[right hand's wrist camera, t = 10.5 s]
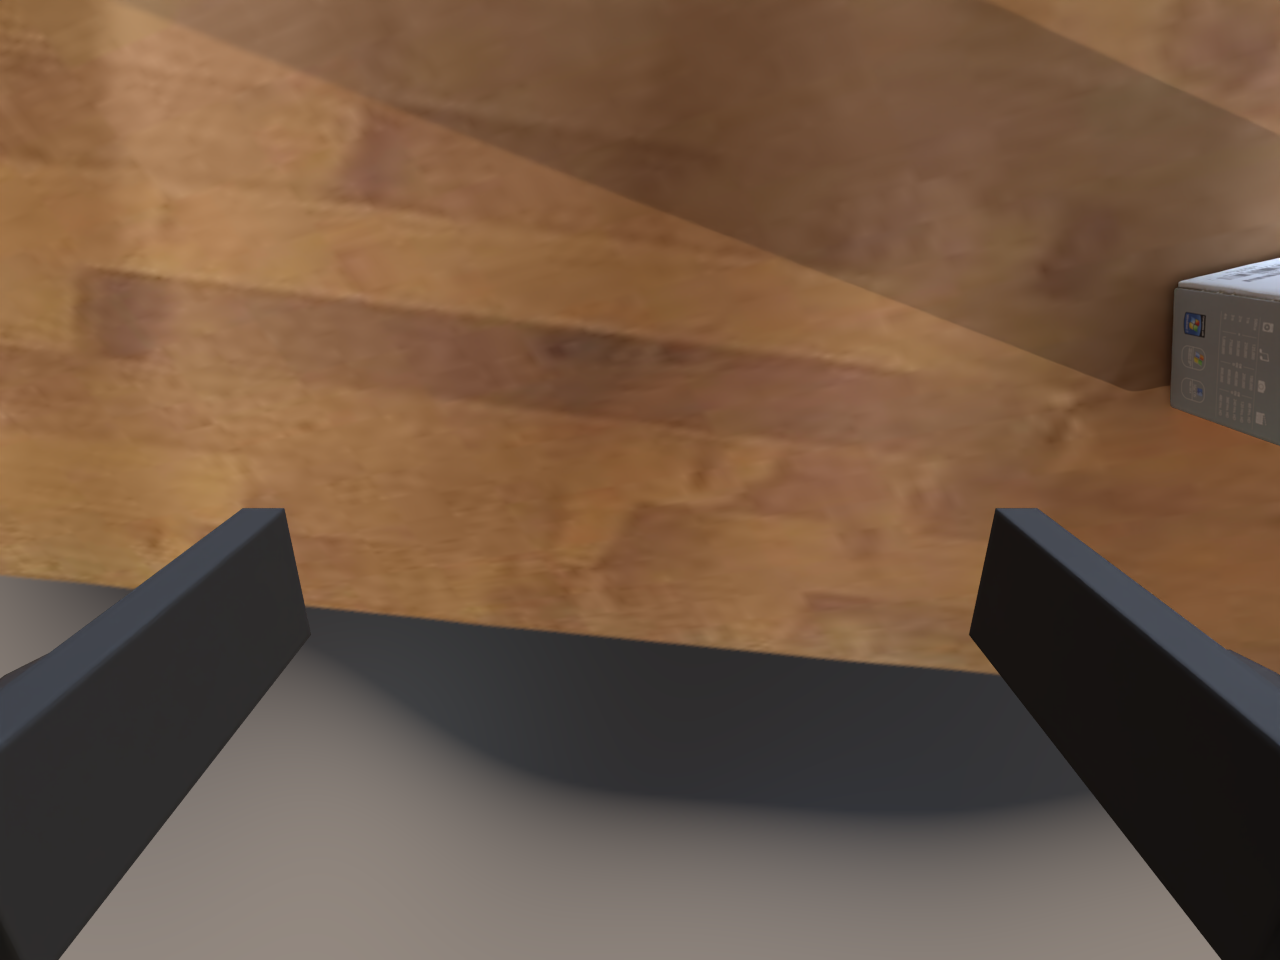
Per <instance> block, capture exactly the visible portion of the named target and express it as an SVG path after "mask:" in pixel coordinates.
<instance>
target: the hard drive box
mask: <svg viewBox="0 0 1280 960" xmlns="http://www.w3.org/2000/svg"><path fill="white" fill-rule="evenodd" d="M1170 403H1171V406H1172V407H1173V408H1176V409H1179V410H1182V411H1184V412H1187V413H1189V414H1192V415H1195V416H1198V417H1201V418H1203V419H1206V420H1209V421H1212V422H1215V423H1217V424H1220V425H1223V426H1226V427H1229V428H1231V429H1234V430H1237V431H1240V432H1242V433H1245V434H1248V435H1251V436H1254V437H1256V438H1259V439H1262V440H1265V441H1268V442H1271V443H1273V444H1276V445H1279V446H1280V258H1277V259H1272V260H1268V261H1263V262H1258V263H1253V264H1249V265H1245V266H1241V267H1237V268H1233V269H1229V270H1225V271H1221V272H1217V273H1213V274H1208V275H1204V276H1199V277H1195V278H1191V279H1187V280H1183V281H1180V282H1179V283H1178V288H1176V289H1175V290H1174V307H1173V341H1172V370H1171V395H1170Z"/></svg>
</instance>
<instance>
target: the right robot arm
mask: <svg viewBox="0 0 1280 960" xmlns="http://www.w3.org/2000/svg"><path fill="white" fill-rule="evenodd" d="M310 635H311V633H310V628H309V624H308V619H307V614H306V609H305V604H304V600H303V595H302V590H301V585H300V581H299V576H298V571H297V566H296V562H295V557H294V552H293V547H292V543H291V538H290V533H289V528H288V524H287V519H286V514H285V509H284V508H243V509H241V510H240V511H239V512H237V513H236V514H235V515H233V516H232V517H231V518H229V519H228V520H227V521H225V522H224V523H223V524H221V525H220V526H219V527H217V528H216V529H214V530H213V531H212V532H210V533H209V534H208V535H206V536H205V537H204V538H202V539H201V540H200V541H198V542H197V543H196V544H194V545H193V546H192V547H190V548H189V549H188V550H186V551H185V552H184V553H182V554H181V555H180V556H178V557H177V558H176V559H174V560H173V561H172V562H170V563H169V564H168V565H166V566H165V567H164V568H162V569H161V570H160V571H158V572H157V573H156V574H154V575H153V576H152V577H150V578H149V579H148V580H146V581H145V582H144V583H142V584H141V585H140V586H138V587H137V588H136V589H134V590H133V591H132V592H130V593H129V594H128V595H126V596H125V597H124V598H122V599H121V600H120V601H118V602H117V603H116V604H114V605H113V606H112V607H110V608H109V609H108V610H106V611H105V612H104V613H102V614H101V615H99V616H98V617H97V618H96V619H94V620H93V621H92V622H90V623H89V624H87V625H86V626H85V627H83V628H82V629H81V630H79V631H78V632H77V633H75V634H74V635H73V636H71V637H70V638H69V639H67V640H66V641H65V642H63V643H62V644H61V645H59V646H58V647H57V648H55V649H54V650H53V651H51V652H50V653H48V654H46V655H44V656H42V657H40V658H38V659H36V660H34V661H32V662H30V663H28V664H26V665H24V666H22V667H20V668H18V669H16V670H14V671H12V672H10V673H8V674H6V675H5V676H3V677H2V678H0V960H59V958H60V957H61V956H62V954H63V953H64V952H65V951H66V949H67V948H68V947H69V945H70V944H71V943H72V942H73V940H74V939H75V938H76V936H77V935H78V934H79V933H80V931H81V930H82V929H83V927H84V926H85V925H86V924H87V922H88V921H89V920H90V918H91V917H92V916H93V915H94V913H95V912H96V911H97V909H98V908H99V907H100V906H101V904H102V903H103V902H104V900H105V899H106V898H107V897H108V895H109V894H110V893H111V891H112V890H113V889H114V887H115V886H116V885H117V884H118V882H119V881H120V880H121V879H122V877H123V876H124V875H125V873H126V872H127V871H128V870H129V868H130V867H131V866H132V864H133V863H134V862H135V860H136V859H137V858H138V857H139V855H140V854H141V853H142V851H143V850H144V849H145V848H146V846H147V845H148V844H149V842H150V841H151V840H152V839H153V837H154V836H155V835H156V833H157V832H158V831H159V830H160V828H161V827H162V826H163V824H164V823H165V822H166V821H167V819H168V818H169V817H170V815H171V814H172V813H173V812H174V810H175V809H176V808H177V806H178V805H179V804H180V803H181V801H182V800H183V799H184V797H185V796H186V795H187V794H188V792H189V791H190V790H191V788H192V787H193V786H194V785H195V783H196V782H197V781H198V779H199V778H200V777H201V776H202V774H203V773H204V772H205V770H206V769H207V768H208V767H209V765H210V764H211V763H212V761H213V760H214V759H215V758H216V756H217V755H218V754H219V752H220V751H221V750H222V749H223V747H224V746H225V745H226V743H227V742H228V741H229V740H230V738H231V737H232V736H233V734H234V733H235V732H236V730H237V729H238V728H239V727H240V725H241V724H242V723H243V722H244V720H245V719H246V718H247V716H248V715H249V714H250V713H251V711H252V710H253V709H254V707H255V706H256V705H257V703H258V702H259V701H260V700H261V698H262V697H263V696H264V695H265V693H266V692H267V691H268V689H269V688H270V687H271V686H272V684H273V683H274V682H275V680H276V679H277V678H278V677H279V675H280V674H281V673H282V671H283V670H284V669H285V668H286V666H287V665H288V664H289V662H290V661H291V660H292V659H293V657H294V656H295V655H296V653H297V652H298V651H299V649H300V648H301V647H302V646H303V644H304V643H305V642H306V640H307V639H308V638H309V637H310ZM969 635H970V637H971V638H972V639H973V640H974V642H975V643H976V644H977V646H978V647H979V648H980V649H981V651H982V652H983V653H984V655H985V656H986V657H987V659H988V660H989V661H990V662H991V664H992V665H993V666H994V668H995V669H996V670H997V671H998V673H999V674H1000V675H1001V677H1002V678H1003V679H1004V680H1005V682H1006V683H1007V684H1008V686H1009V687H1010V688H1011V689H1012V691H1013V692H1014V693H1015V695H1016V696H1017V697H1018V698H1019V700H1020V701H1021V702H1022V704H1023V705H1024V706H1025V707H1026V709H1027V710H1028V711H1029V713H1030V714H1031V715H1032V716H1033V718H1034V719H1035V720H1036V722H1037V723H1038V724H1039V725H1040V727H1041V728H1042V729H1043V731H1044V732H1045V733H1046V734H1047V736H1048V737H1049V738H1050V740H1051V741H1052V742H1053V743H1054V745H1055V746H1056V747H1057V749H1058V750H1059V751H1060V752H1061V754H1062V755H1063V756H1064V758H1065V759H1066V760H1067V761H1068V763H1069V764H1070V765H1071V767H1072V768H1073V769H1074V770H1075V772H1076V773H1077V774H1078V776H1079V777H1080V778H1081V779H1082V781H1083V782H1084V783H1085V785H1086V786H1087V787H1088V788H1089V790H1090V791H1091V792H1092V794H1093V795H1094V796H1095V797H1096V799H1097V800H1098V801H1099V803H1100V804H1101V805H1102V806H1103V808H1104V809H1105V810H1106V812H1107V813H1108V814H1109V815H1110V817H1111V818H1112V819H1113V821H1114V822H1115V823H1116V825H1117V826H1118V827H1119V828H1120V830H1121V831H1122V832H1123V834H1124V835H1125V836H1126V837H1127V839H1128V840H1129V841H1130V843H1131V844H1132V845H1133V846H1134V848H1135V849H1136V850H1137V851H1138V853H1139V854H1140V855H1141V857H1142V858H1143V859H1144V861H1145V862H1146V863H1147V864H1148V866H1149V867H1150V868H1151V870H1152V871H1153V872H1154V873H1155V875H1156V876H1157V877H1158V879H1159V880H1160V881H1161V882H1162V884H1163V885H1164V886H1165V888H1166V889H1167V890H1168V891H1169V893H1170V894H1171V895H1172V897H1173V898H1174V899H1175V900H1176V902H1177V903H1178V904H1179V906H1180V907H1181V908H1182V909H1183V911H1184V912H1185V913H1186V915H1187V916H1188V917H1189V918H1190V920H1191V921H1192V922H1193V924H1194V925H1195V926H1196V927H1197V929H1198V930H1199V931H1200V933H1201V934H1202V935H1203V936H1204V938H1205V939H1206V940H1207V942H1208V943H1209V944H1210V945H1211V947H1212V948H1213V949H1214V950H1215V952H1216V953H1217V954H1218V956H1219V957H1220V958H1221V960H1280V675H1279V674H1277V673H1276V672H1274V671H1272V670H1270V669H1268V668H1266V667H1264V666H1262V665H1260V664H1258V663H1256V662H1254V661H1252V660H1250V659H1248V658H1246V657H1244V656H1242V655H1240V654H1238V653H1236V652H1234V651H1232V650H1226V649H1225V648H1223V647H1222V646H1221V645H1219V644H1218V643H1217V642H1215V641H1214V640H1213V639H1211V638H1210V637H1209V636H1207V635H1206V634H1205V633H1203V632H1202V631H1201V630H1199V629H1198V628H1197V627H1195V626H1194V625H1193V624H1191V623H1190V622H1189V621H1187V620H1186V619H1185V618H1183V617H1182V616H1181V615H1179V614H1178V613H1177V612H1175V611H1174V610H1172V609H1171V608H1170V607H1168V606H1167V605H1166V604H1164V603H1163V602H1162V601H1160V600H1159V599H1158V598H1156V597H1155V596H1154V595H1152V594H1151V593H1150V592H1148V591H1147V590H1146V589H1144V588H1143V587H1142V586H1140V585H1139V584H1138V583H1136V582H1135V581H1134V580H1132V579H1131V578H1130V577H1128V576H1127V575H1126V574H1124V573H1123V572H1122V571H1120V570H1119V569H1118V568H1116V567H1115V566H1114V565H1112V564H1111V563H1110V562H1108V561H1107V560H1106V559H1104V558H1103V557H1102V556H1100V555H1099V554H1098V553H1096V552H1095V551H1094V550H1092V549H1091V548H1090V547H1088V546H1087V545H1086V544H1084V543H1083V542H1082V541H1080V540H1079V539H1078V538H1076V537H1075V536H1074V535H1072V534H1071V533H1070V532H1068V531H1067V530H1066V529H1064V528H1063V527H1061V526H1060V525H1059V524H1057V523H1056V522H1055V521H1053V520H1052V519H1051V518H1049V517H1048V516H1047V515H1045V514H1044V513H1043V512H1041V511H1040V510H1039V509H1037V508H996V509H995V514H994V519H993V524H992V528H991V533H990V538H989V543H988V547H987V552H986V557H985V562H984V566H983V571H982V576H981V581H980V585H979V590H978V595H977V600H976V604H975V609H974V614H973V619H972V623H971V628H970V633H969Z"/></svg>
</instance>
